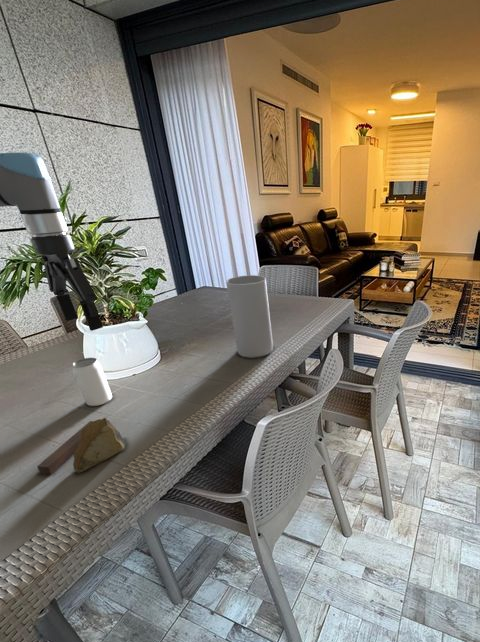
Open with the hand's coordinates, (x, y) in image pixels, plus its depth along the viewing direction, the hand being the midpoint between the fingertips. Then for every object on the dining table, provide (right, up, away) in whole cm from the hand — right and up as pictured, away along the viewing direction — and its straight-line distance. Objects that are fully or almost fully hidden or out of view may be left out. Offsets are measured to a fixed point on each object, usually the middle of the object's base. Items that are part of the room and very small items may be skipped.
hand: (83, 324), depth 89 cm
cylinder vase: (+37, -4, +35) cm, 52 cm away
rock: (+12, -31, -12) cm, 35 cm away
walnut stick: (+4, -30, -9) cm, 31 cm away
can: (-2, -20, +9) cm, 22 cm away
